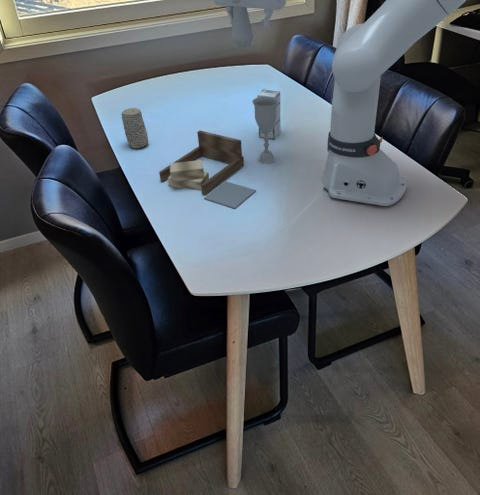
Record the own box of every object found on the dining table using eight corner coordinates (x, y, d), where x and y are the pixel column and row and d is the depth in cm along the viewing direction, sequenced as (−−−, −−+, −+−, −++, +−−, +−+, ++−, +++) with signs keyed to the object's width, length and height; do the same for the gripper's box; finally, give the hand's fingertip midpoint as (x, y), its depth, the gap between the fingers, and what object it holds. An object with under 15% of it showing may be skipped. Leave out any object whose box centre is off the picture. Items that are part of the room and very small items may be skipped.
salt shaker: (251, 48, 128) (248, -7, 120) (230, 49, 129) (225, -6, 121) (255, 42, 132) (252, -11, 124) (234, 43, 133) (230, -10, 126)
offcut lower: (209, 181, 137) (208, 172, 135) (202, 191, 133) (201, 182, 131) (177, 177, 140) (175, 168, 138) (169, 187, 136) (167, 178, 134)
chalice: (283, 157, 145) (282, 99, 134) (271, 167, 141) (270, 107, 130) (262, 152, 149) (260, 95, 138) (250, 161, 144) (247, 103, 133)
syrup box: (281, 133, 159) (281, 89, 150) (274, 140, 155) (274, 96, 146) (265, 130, 161) (264, 87, 152) (258, 138, 157) (256, 94, 148)
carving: (135, 140, 161) (128, 105, 154) (153, 144, 158) (147, 108, 151) (123, 148, 157) (115, 112, 150) (141, 152, 154) (134, 116, 146)
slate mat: (255, 191, 130) (255, 190, 130) (235, 209, 124) (234, 207, 124) (225, 182, 135) (225, 181, 135) (204, 199, 129) (204, 197, 129)
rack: (244, 165, 143) (242, 140, 138) (205, 195, 130) (202, 168, 126) (201, 154, 150) (198, 130, 145) (160, 181, 138) (156, 155, 133)
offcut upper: (203, 169, 137) (202, 159, 135) (204, 177, 133) (203, 168, 131) (171, 173, 136) (169, 163, 134) (171, 181, 132) (170, 172, 130)
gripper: (291, -36, 115) (290, 26, 124) (221, -38, 125) (225, 19, 133) (277, -32, 111) (278, 32, 119) (206, -34, 121) (211, 25, 129)
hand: (249, 25), depth 126 cm, fingers open, 8 cm apart
